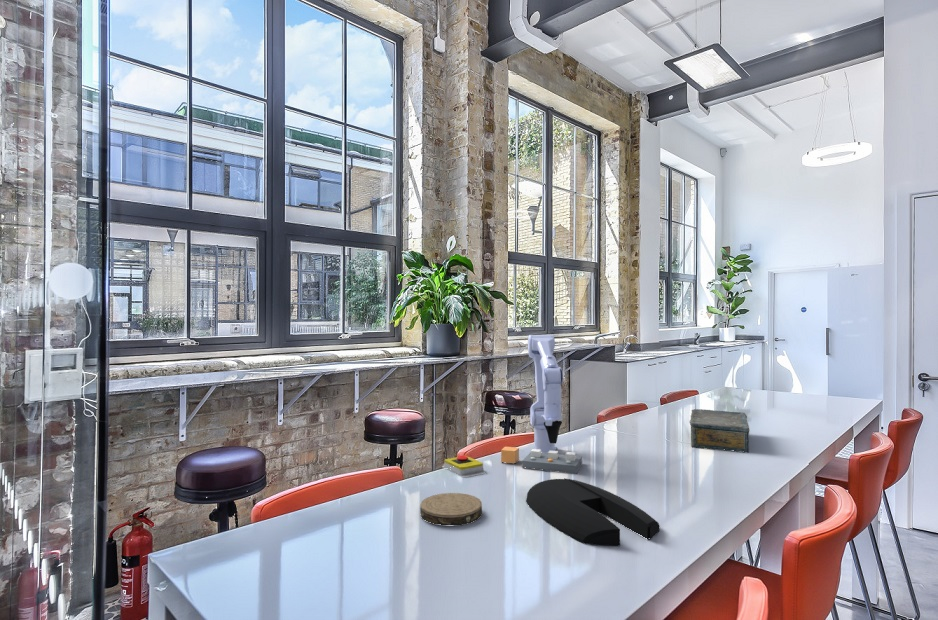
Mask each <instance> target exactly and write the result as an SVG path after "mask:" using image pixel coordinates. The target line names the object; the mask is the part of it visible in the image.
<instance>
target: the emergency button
mask: <svg viewBox="0 0 938 620" xmlns="http://www.w3.org/2000/svg"><path fill="white" fill-rule="evenodd" d="M443 462H444V463H443V465H442V466H441V468H444V469H445V468H448V469H446V470H447V471H450V472H451V473H453V474H455V473H456V474H455V475H457V474H458V475H457V476H460V477H462V478H464V477H466V478H471V477H475V475H476V476H480V474H481V475H485V473H486V474H488V472H487V471H486V470H484V463H483V462H482V461H479V460H477V459H474V458H472V457H470V456H467V455H459V456H456V457H449V458H446V459H444V461H443ZM453 466H454V467H453ZM450 467H451V468H450ZM450 469H451V470H450Z"/></svg>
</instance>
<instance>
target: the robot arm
mask: <svg viewBox="0 0 938 620" xmlns="http://www.w3.org/2000/svg"><path fill="white" fill-rule="evenodd" d="M555 346H556V339H555V336H554V334H529V335H528V337H527V352H528V358H531V359H532V360H533V363H534V374H535V375H534V378H535V389H536V390H535V391H536V401H535V402H534V403H532V404H531V406H530V407H529V411H530V412H529V422H530V425H531V426H532V428H533V431H534V435H533V437H534V438H533V439H534V440H533V441H534V442H533V443H534V445H533V447H534V448H533V449H539V450H541V452H542V453H548V452H549V451H550V450H551V451H557V450H558V446H556V445H555V444H557V441H558V438H559V431H560V428H561V426H562V424H563V421H562V418H563V417H562V385H563V383H564V372H563V369H562V367H560V366H559V365H558V362H557V359H556V357H555V356H554V355H553V354H554V350H555Z"/></svg>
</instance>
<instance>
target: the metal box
mask: <svg viewBox="0 0 938 620" xmlns="http://www.w3.org/2000/svg"><path fill="white" fill-rule="evenodd" d="M748 422H749V421H748V416H747V414H746V413H745V412H740V411H739V412H738V411H725V410H711V409H701V408H700V409H699V408H694V409H691V415H690V419H689V425H690V447H691V448H693V447H696V448H695V449H704V448H707V449H706V450H715V449H725V450H724V451H727V450H734V451H733V452H735V451H744V452H743V453H745V452H747V453H749V451H750V450H749V448H750V446H749V435H750V427H749V426H750V425H749V423H748Z"/></svg>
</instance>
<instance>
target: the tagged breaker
mask: <svg viewBox="0 0 938 620" xmlns="http://www.w3.org/2000/svg"><path fill="white" fill-rule="evenodd" d="M558 454H559V451H558V450H555V451H551V450H550V451H549V452H548V459H556V460H557V459H558Z"/></svg>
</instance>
